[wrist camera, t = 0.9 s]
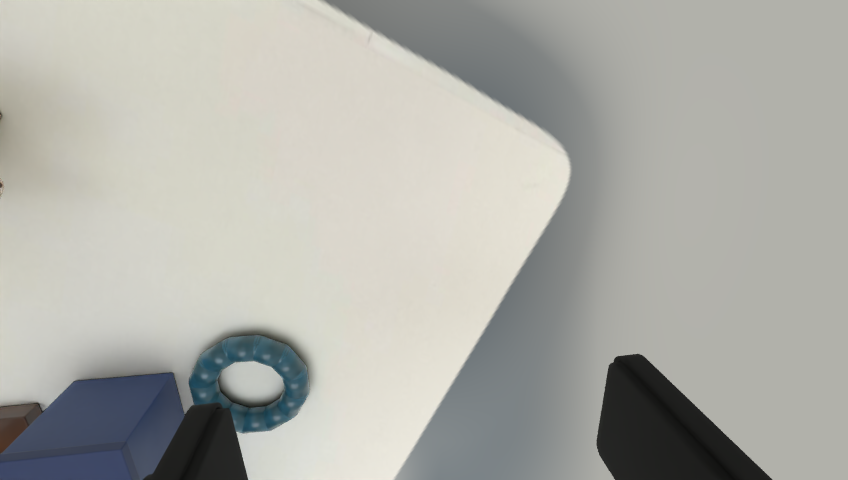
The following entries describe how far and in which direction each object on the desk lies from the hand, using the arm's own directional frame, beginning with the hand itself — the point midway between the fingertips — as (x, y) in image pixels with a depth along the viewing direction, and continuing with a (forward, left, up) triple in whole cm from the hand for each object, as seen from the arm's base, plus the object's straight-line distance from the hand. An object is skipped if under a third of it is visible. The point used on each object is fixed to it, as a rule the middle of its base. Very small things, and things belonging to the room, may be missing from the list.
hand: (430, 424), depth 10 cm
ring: (+11, -10, -16) cm, 21 cm away
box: (+16, -18, -16) cm, 29 cm away
